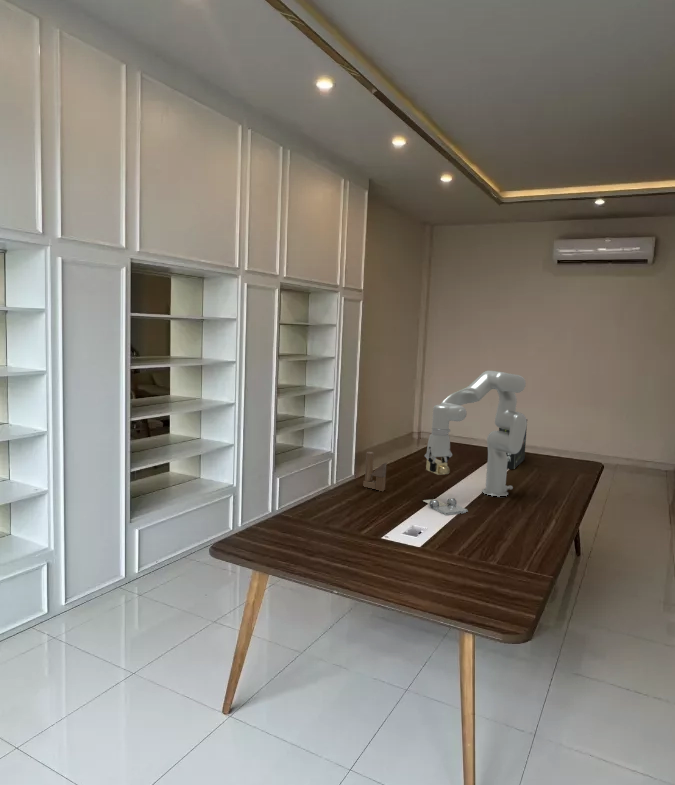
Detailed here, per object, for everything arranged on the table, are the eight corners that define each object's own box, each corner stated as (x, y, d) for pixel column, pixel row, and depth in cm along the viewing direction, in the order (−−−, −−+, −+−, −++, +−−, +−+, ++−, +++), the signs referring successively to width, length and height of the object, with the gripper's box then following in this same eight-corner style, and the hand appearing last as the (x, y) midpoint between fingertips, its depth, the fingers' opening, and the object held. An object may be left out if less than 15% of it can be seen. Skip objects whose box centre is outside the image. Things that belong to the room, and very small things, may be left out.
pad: (435, 499, 271) (435, 499, 271) (447, 505, 263) (447, 505, 263) (422, 500, 268) (422, 500, 268) (434, 507, 260) (434, 506, 260)
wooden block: (381, 492, 280) (383, 455, 278) (362, 487, 286) (364, 452, 284) (385, 490, 283) (387, 454, 281) (366, 486, 289) (368, 451, 287)
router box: (507, 457, 375) (510, 416, 372) (524, 459, 370) (528, 418, 367) (495, 467, 343) (498, 423, 341) (514, 470, 338) (517, 425, 335)
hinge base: (452, 504, 265) (453, 496, 264) (469, 512, 254) (469, 504, 254) (427, 507, 259) (428, 499, 258) (443, 515, 248) (444, 507, 248)
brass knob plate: (434, 469, 270) (435, 458, 269) (450, 475, 259) (451, 464, 259) (426, 469, 268) (426, 459, 267) (441, 476, 257) (441, 465, 257)
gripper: (450, 430, 269) (447, 468, 271) (419, 431, 261) (417, 470, 263) (460, 432, 262) (457, 471, 264) (429, 434, 255) (426, 474, 257)
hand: (437, 470), depth 264 cm, fingers closed on brass knob plate, 5 cm apart
